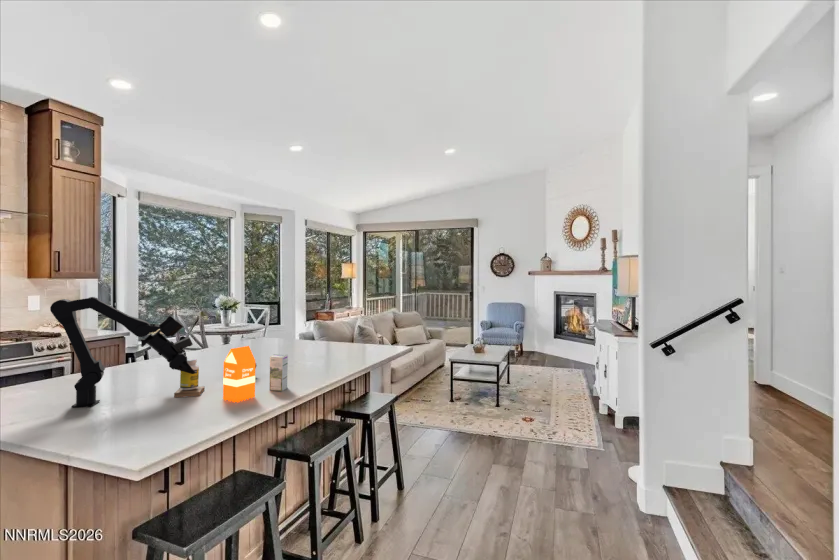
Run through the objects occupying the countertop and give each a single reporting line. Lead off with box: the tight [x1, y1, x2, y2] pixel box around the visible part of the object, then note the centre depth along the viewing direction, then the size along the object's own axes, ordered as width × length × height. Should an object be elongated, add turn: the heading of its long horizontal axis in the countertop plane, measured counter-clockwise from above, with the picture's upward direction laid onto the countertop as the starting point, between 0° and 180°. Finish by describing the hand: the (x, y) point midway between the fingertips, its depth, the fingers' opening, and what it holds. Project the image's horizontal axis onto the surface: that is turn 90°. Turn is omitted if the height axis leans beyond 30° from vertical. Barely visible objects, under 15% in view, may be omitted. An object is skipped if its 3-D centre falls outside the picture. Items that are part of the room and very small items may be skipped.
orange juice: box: [222, 345, 256, 403], centre depth 168 cm, size 8×9×20 cm
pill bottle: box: [179, 357, 200, 390], centre depth 173 cm, size 6×6×12 cm
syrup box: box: [269, 353, 289, 392], centre depth 182 cm, size 6×6×14 cm
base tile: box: [173, 385, 205, 398], centre depth 173 cm, size 9×9×2 cm
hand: (193, 371), depth 174 cm, fingers closed on pill bottle, 6 cm apart
